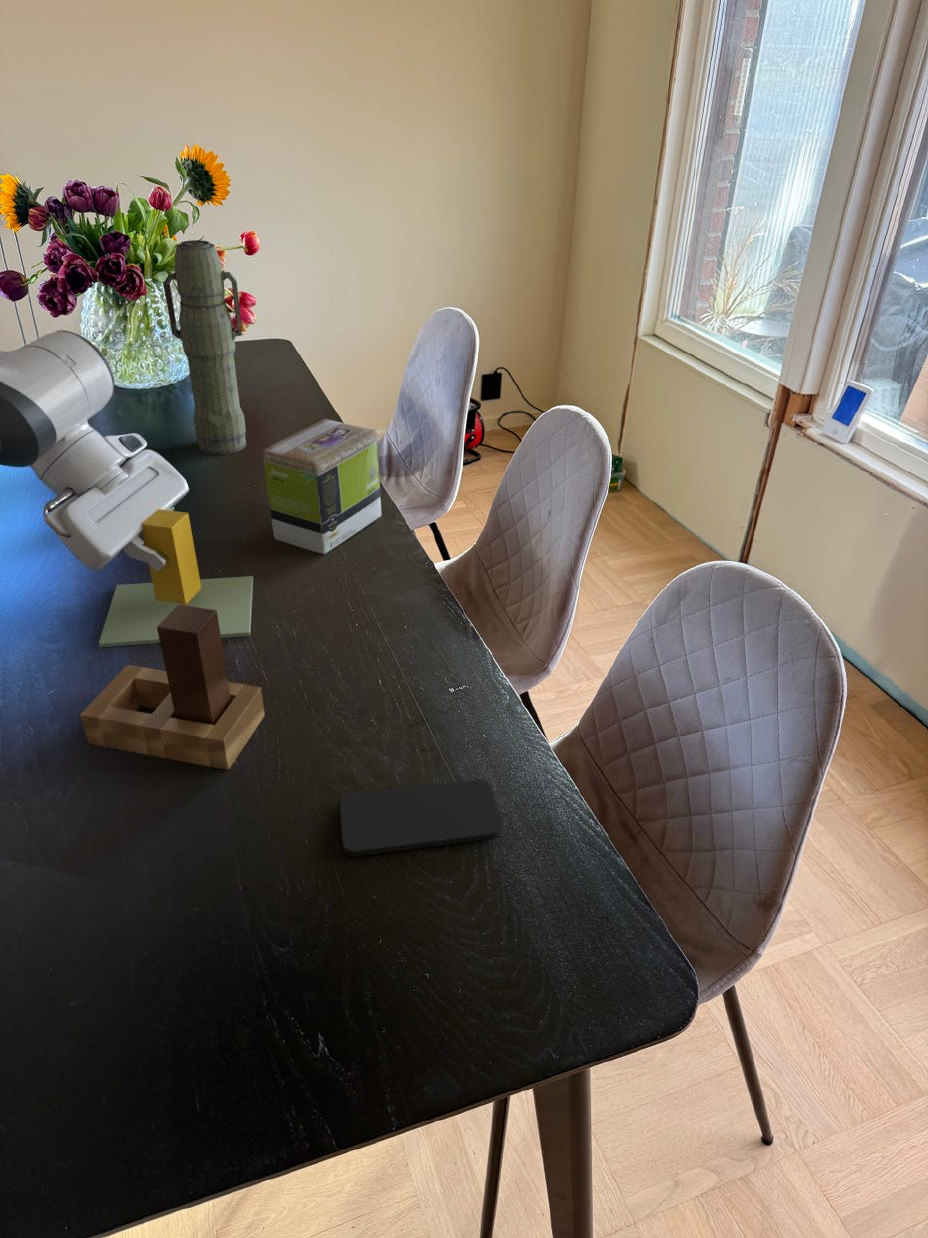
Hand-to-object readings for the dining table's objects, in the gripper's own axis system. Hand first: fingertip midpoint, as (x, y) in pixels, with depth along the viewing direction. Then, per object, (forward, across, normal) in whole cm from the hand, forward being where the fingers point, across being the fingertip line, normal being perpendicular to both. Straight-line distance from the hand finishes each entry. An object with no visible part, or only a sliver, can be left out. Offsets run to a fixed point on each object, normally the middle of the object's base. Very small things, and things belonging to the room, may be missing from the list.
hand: (175, 554), depth 107 cm
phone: (+34, -28, -22) cm, 49 cm away
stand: (+13, -22, -2) cm, 25 cm away
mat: (+6, 0, +6) cm, 8 cm away
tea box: (+13, +27, -1) cm, 30 cm away
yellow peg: (+4, 0, +5) cm, 6 cm away
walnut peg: (+16, -22, -4) cm, 27 cm away
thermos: (-8, +53, +21) cm, 58 cm away
